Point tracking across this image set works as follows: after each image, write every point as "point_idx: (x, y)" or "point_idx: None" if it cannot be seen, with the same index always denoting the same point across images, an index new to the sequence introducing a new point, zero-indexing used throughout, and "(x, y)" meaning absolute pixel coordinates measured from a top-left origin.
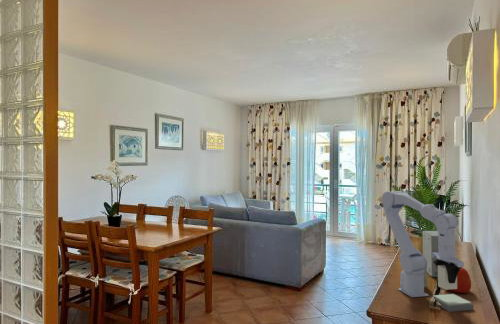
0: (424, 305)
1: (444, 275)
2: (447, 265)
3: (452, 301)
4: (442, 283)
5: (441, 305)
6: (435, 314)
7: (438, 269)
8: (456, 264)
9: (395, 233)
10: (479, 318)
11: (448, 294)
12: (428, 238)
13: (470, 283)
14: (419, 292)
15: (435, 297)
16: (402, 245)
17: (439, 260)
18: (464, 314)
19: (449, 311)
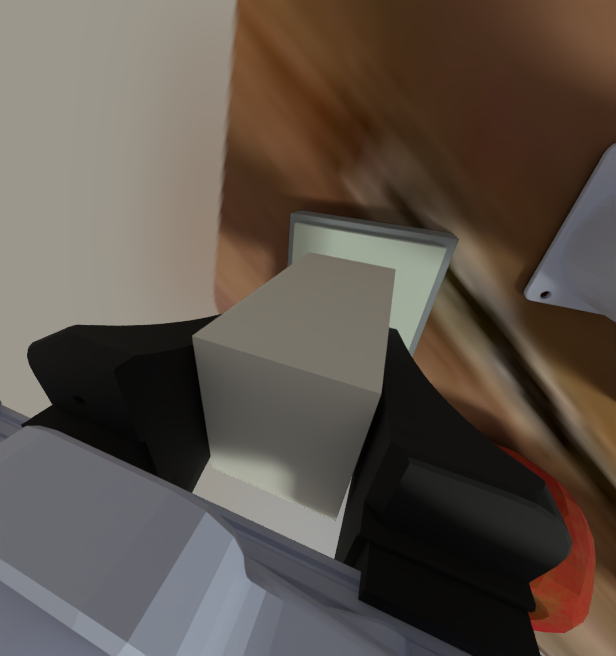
0: (431, 126)
1: (264, 292)
2: (46, 344)
3: None
4: (330, 269)
5: (358, 220)
6: (293, 84)
7: (365, 344)
8: (4, 432)
9: None
10: (222, 273)
11: (406, 346)
12: None
13: None
14: (586, 231)
15: (420, 243)
16: None
17: (413, 561)
18: (262, 252)
19: (301, 210)
